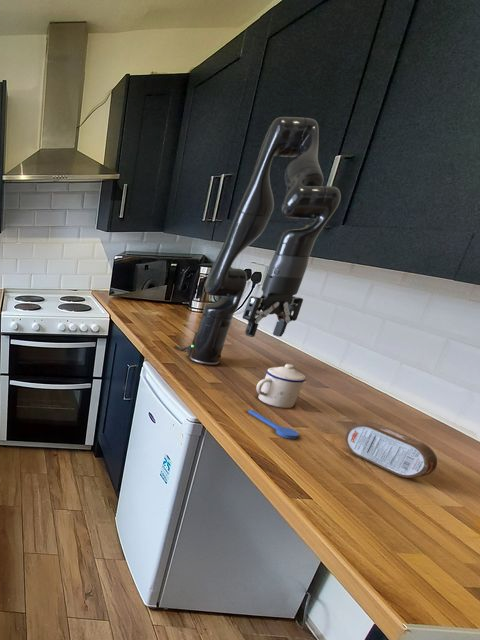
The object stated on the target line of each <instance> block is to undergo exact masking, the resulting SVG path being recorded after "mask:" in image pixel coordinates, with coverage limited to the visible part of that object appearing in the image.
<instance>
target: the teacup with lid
mask: <svg viewBox="0 0 480 640" xmlns="http://www.w3.org/2000/svg"><path fill="white" fill-rule="evenodd" d="M265 372H266V375H265V377H264V378H263V379H260V380H259V381H258V383H257V384H256V392H257V394H258V400H259V401H261V402H262V403H264V404H266V405H269V406H272V407H275V408H276V407H277V408H280V409H281V408H282V409H290V408H293V407H294V406H295V404H296V402H297V399H298V396H299V394H300V392H301V389H302V387H303V384H304V382H306V381H307V379H306V376H305V375H304V374H303V373H302V372H299V371H298V370H297V369H296V368H294V365H293V364H292V363H291V364H290V363H286V364H284V366H277V367H276V366H274V367H273V366H272V367H269V368H268V369H266V371H265Z"/></svg>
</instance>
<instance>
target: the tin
mask: <svg viewBox="0 0 480 640" xmlns="http://www.w3.org/2000/svg"><path fill="white" fill-rule="evenodd" d="M345 443H346V446H347V447H348V449H349V450H350V452H352V453H353V454H354V455H356V456H357V457H359V458H361V459H363V460H365V461H367V462H369V463H371V464H373V465H374V466H377V467H379V468H381V469H383V470H385V471H387V472H389V473H391V474H393V475H395V476H398V477H400V478H406V479H415V478H416V479H417V478H420V477H426V476H429V475H430V474H432V473H433V472H434V471H435V470H436V468H437V466H438V457H437V455H436V452H435V451H434V450H433V449H432V448H431V447H430V446H429V445H428V444H427V443H425V442H424V441H421V440H419V439H416V438H415V437H412V436H410V435H407V434H405V433H402V432H401V431H398V430H396V429H393V428H391V427H389V426H386V425H384V424H382V423H379V422H375V421H363V422H360V423H358V424H354V425H353V426H352V425H351V426H350V428H348V430H347V431H346V433H345Z"/></svg>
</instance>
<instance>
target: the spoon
mask: <svg viewBox="0 0 480 640" xmlns="http://www.w3.org/2000/svg"><path fill="white" fill-rule="evenodd" d="M247 413H248V414H249V415H251V416H253V417H254V418H256V419H258V420H259V421H261V422H262V423H264V424H266V425H267V426H269V427H271V428H273V429H274V430H275V433H276V434H277V435H278V436H279V437H282V438H284V439H288V440H297V439H298V437H299V432H298V431H296V430H294V429H292V428H290V427H286V426H280V425H278V424H277V423H276V422H274V421H272V420H270V419H268V418H267V417H265V416H263V415H262V414H261V413H258V412H257V411H255V410H253V409H248V411H247Z"/></svg>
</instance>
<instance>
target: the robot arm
mask: <svg viewBox="0 0 480 640" xmlns="http://www.w3.org/2000/svg"><path fill="white" fill-rule="evenodd" d="M319 128H320V127H319V123H318V121H317V120H316V119H314V118H310V117H299V116H297V117H295V116H279V117H276V118H275V119H274V120H273V121H272V122H271V124H270V125H269V127H268V129H267V131H266V134H265V136H264V138H263V141H262V143H261V147H260V150H259V153H258V156H257V159H256V161H255V165H254V168H253V170H252V174H251V176H250V178H249V180H248V181H249V182H248V184H247V186H246V189H245V191H244V193H243V196H242V198H241V200H240V202H239V205H238V207H237V209H236V212H235V214H234V216H233V219H232V222H231V224H230V227H229V229H228V232H227V234H226V237H225V239H224V242H223V244H222V246H221V248H220V251H219V252H218V254H217V256H216V259H215V261H214V262H213V264H212V266H211V268H210V270H209V272H208V273H207V277H206V280H205V284H204V290H205V293H206V294H207V295H209V296H214V297H220V298H219V299H217V300H216V301H214V302H212V303H208V304H206V305H205V306H204V307H203V309H202V310H203V311H202V314H201V317H200V321H199V325H198V328H197V331H196V332H195V333H194V335H193V340H192V343H191V345H188V346H185V347H184V348H180V347H179V346H177V344H176V345H174V346H173V347H174V348H176V349H177V350H179V351H182V352H183V351H185V350H186V352H187V353H188V358H189V360H190V361H192V362H193V363H196V364H200V365H204V366H217V365H219V363H220V360H221V357H222V352H223V349H224V346H225V342H226V339H227V337H228V334H229V329H230V326H231V323H232V320H233V318H234V315H235V313H236V311H237V310H238V308H239V305H240V302H241V300H242V297H243V295H244V293H245V289H246V287H247V282H248V274H247V272H246V270H245V269H242V268H232V265H233V263H234V261H235V260H236V259H237V258H238V256H239V255H241V253H242V252H243V251H244V250H245V249H246V248H247V247H249V246H250V245H251V244H252V243H254V242H255V241H256V240H257V239H258V238H259V237H260V236H261V235H262V234H263V232H264V231H265V229H266V228H267V225H268V223H269V221H270V219H271V217H272V214H273V212H274V209H275V199H274V194H273V189H272V184H271V177H270V173H271V166H272V163H273V160H274V157H282V158H293V159H291V160H290V162H289V163H288V164H287V165H286V168H285V170H284V173H283V180H284V185H285V196H284V198H283V201H282V204H281V209H280V210H281V213H282V215H284V217H286V218H289V219H304V220H305V219H306V220H309V221H308V222H307V223H306V224H305V225H304V226H301V227H298V228H292V229H290V228H289V229H286V230H284V231H283V232H281V234H280V237H279V239H278V243H277V246H276V249H275V252H274V254H273V257H272V259H271V261H270V263H269V265H268V269H267V272H266V274H265V277H264V281H263V284H262V286H261V291H262V294H261V296H260V297H259V296H258V297H257V296H253V295H252V296H250V297H248V301H247V304H246V306H245V309H244V312H243V314H242V317H241V318H242V319H243V320H246V321H247V322H248V323H247V325H246V329H245V331H244V332H245V336H247V337H249V338H254V337H255V336H256V333H257V330H258V327H259V323H260V322H261V321H262V319H264V318H267V317H268V316H269V315H276V317H277V321H276V323H275V327H274V329H273V332H272V335H273V336H275V337H278V338H279V337H283V335H284V333H285V331H286V329H287V326H288V324H289V323H290V322H295V321H297V319H298V316H299V314H300V311H301V307H302V305H303V302H304V298H302V297H298V296H296V295H297V294H298V293H299V290H300V287H301V284H302V282H303V279H304V276H305V274H306V270H307V268H308V264H309V259H310V256H311V253H312V250H313V248H314V245H315V243H316V240H317V239H318V236H319V235H320V234H321V232H322V230H323V228H324V227H325V225H326V224H327V223H328V221H330V218H331V217H332V216H333V214H334V213H335V212H336V211H337V209H338V207H339V205H340V203H341V198H342V195H341V191H340V189H339V188H338V187H336V186H333V185H332V186H331V185H324V181H325V180H324V179H325V178H324V173H323V170H322V168H321V164H320V162H319V145H320V143H319V141H320V140H319V139H320V138H319V137H320V130H319Z"/></svg>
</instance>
